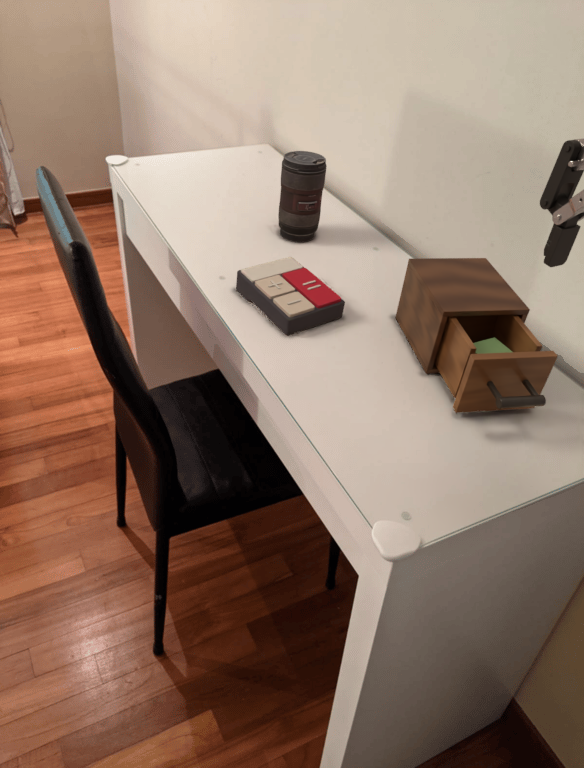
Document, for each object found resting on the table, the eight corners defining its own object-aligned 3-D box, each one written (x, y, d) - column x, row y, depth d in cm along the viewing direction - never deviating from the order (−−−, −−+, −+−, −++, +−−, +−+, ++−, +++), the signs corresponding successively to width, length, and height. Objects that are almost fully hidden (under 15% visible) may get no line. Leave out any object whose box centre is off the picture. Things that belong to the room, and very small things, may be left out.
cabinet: (506, 370, 90) (530, 309, 83) (425, 374, 88) (443, 311, 81) (467, 315, 101) (485, 257, 94) (395, 317, 98) (408, 258, 92)
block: (484, 365, 87) (494, 337, 84) (508, 386, 84) (520, 357, 80) (457, 373, 85) (466, 344, 82) (480, 395, 82) (491, 366, 78)
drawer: (550, 431, 79) (576, 378, 73) (469, 437, 77) (489, 383, 71) (492, 348, 92) (510, 298, 87) (421, 351, 90) (435, 300, 85)
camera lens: (323, 231, 121) (333, 155, 111) (309, 247, 115) (318, 168, 105) (285, 222, 123) (292, 146, 113) (270, 237, 117) (275, 159, 107)
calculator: (289, 316, 89) (236, 266, 98) (286, 339, 92) (234, 289, 101) (347, 298, 95) (292, 252, 103) (342, 320, 98) (289, 273, 106)
